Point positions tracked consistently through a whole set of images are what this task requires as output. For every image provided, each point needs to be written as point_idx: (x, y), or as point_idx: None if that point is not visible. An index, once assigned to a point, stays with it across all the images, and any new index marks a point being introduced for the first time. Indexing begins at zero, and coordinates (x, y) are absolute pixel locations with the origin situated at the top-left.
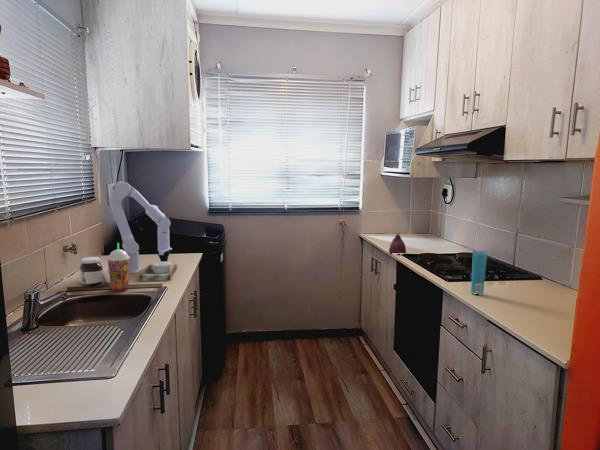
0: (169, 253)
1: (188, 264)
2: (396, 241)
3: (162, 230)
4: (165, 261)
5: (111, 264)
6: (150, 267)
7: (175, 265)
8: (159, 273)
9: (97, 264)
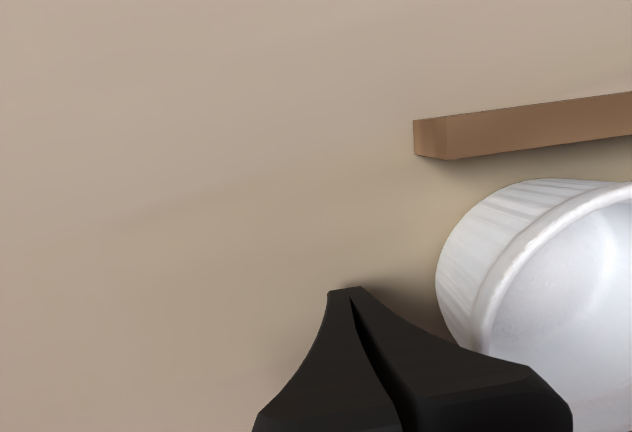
0: (338, 398)
1: (101, 9)
2: None
3: None
4: (494, 313)
5: None
6: None
7: (525, 117)
8: (609, 262)
9: None
